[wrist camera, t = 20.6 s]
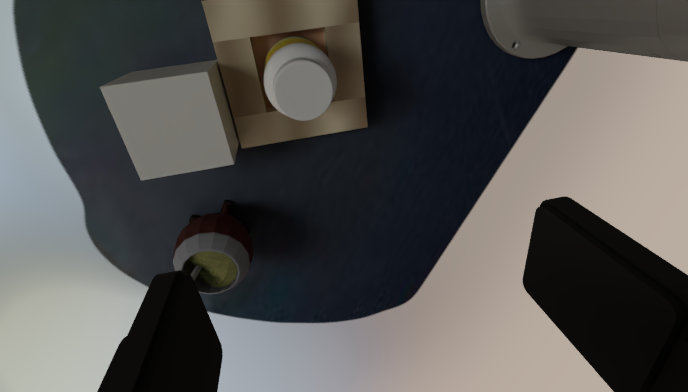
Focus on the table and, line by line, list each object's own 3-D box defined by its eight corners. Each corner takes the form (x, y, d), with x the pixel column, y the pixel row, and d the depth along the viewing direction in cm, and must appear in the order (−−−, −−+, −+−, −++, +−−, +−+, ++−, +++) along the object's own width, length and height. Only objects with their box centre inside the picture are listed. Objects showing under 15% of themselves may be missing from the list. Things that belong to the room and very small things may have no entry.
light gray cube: (218, 59, 30) (207, 71, 25) (240, 137, 34) (233, 164, 28) (132, 71, 30) (99, 87, 24) (163, 150, 33) (141, 180, 28)
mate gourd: (262, 205, 38) (258, 309, 25) (242, 262, 41) (229, 381, 28) (189, 186, 35) (143, 290, 22) (173, 248, 38) (124, 372, 25)
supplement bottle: (253, 49, 30) (247, 66, 22) (312, 25, 30) (328, 33, 22) (279, 107, 33) (283, 142, 25) (333, 85, 33) (355, 113, 25)
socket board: (350, -17, 30) (355, -19, 28) (362, 121, 35) (367, 127, 34) (205, 1, 28) (201, 1, 27) (243, 141, 34) (241, 148, 32)
